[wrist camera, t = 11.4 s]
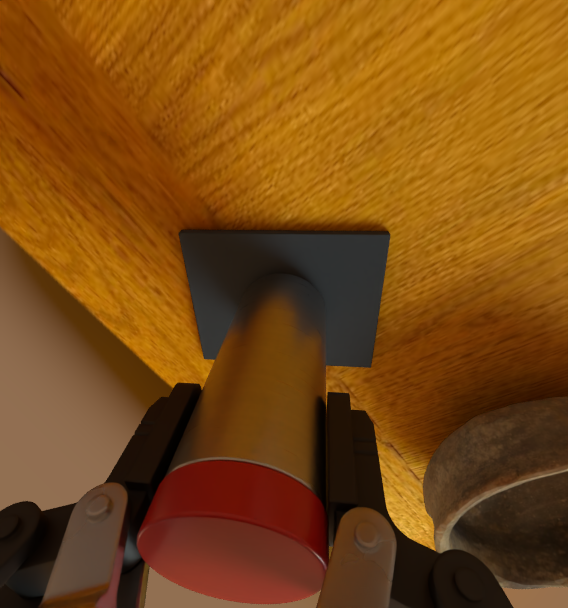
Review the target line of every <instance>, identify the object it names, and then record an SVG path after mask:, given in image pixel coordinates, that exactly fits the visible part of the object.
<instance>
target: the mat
mask: <svg viewBox="0 0 568 608" xmlns="http://www.w3.org/2000/svg"><path fill="white" fill-rule="evenodd" d="M179 238H180V243H181V247H182V252H183V257H184V262H185V267H186V272H187V277H188V282H189V287H190V292H191V297H192V302H193V307H194V312H195V316H196V321H197V326H198V331H199V336H200V341H201V346H202V351H203V356H204V359H213V360H216V357H217V355H218V353H219V350H220V348H221V346H222V343H223V341H224V339H225V336H226V334H227V332H228V330H229V327H230V325H231V323H232V320H233V318H234V316H235V313H236V311H237V309H238V306H239V304H240V302H241V300H242V297H243V295H244V293H245V291H246V290H247V288H248V287H249V286H250V285H251V284H252V283H253V282H255V281H256V280H258V279H259V278H262V277H264V276H267V275H271V274H281V273H282V274H290V275H294V276H297V277H300V278H302V279H304V280H306V281H307V282H309V283H310V284H311V285H313V286H314V287H315V288H316V289H317V290H318V292H319V293H320V295H321V296H322V298H323V301H324V304H325V309H326V365H330V366H349V367H369V368H370V367H371V363H372V357H373V350H374V343H375V336H376V329H377V322H378V316H379V309H380V302H381V295H382V288H383V281H384V275H385V268H386V261H387V254H388V247H389V240H390V233H389V232H388V231H295V230H181V231H180V232H179Z"/></svg>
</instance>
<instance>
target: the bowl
mask: <svg viewBox="0 0 568 608" xmlns="http://www.w3.org/2000/svg"><path fill="white" fill-rule="evenodd" d="M423 494H424V503H425V507H426V511H427V513H428V514H429V516H430V517H431V518H432V519H433V523H434V541H435V548H436V552H438V553H440V554H441V553H442V552H444V551H446V550H450V549H458V550H462V551H466V552H468V553H470V554H472V555H474V556H475V557H477V558H478V559H479V560H481V561H482V562H483V563H484V564H485V565H486V566H487V567H488V568H489V569H490V571H491V572H492V573H493V575H494V576H495V578H496V579H497V581H498V582H499V584H500V586H501V587H505V588H512V589H534V588H544V587H568V396H566V397H551V398H546V399H541V400H534V401H528V402H521V403H516V404H512V405H509V406H506V407H503V408H499V409H496V410H492V411H489V412H485V413H483V414H481V415H478V416H476V417H473V418H472V419H470V420H469V421H468V422H467V423H465V424H464V425H463V426H461V427H460V428H458V429H457V430H455V431H454V432H453V433H452V434H450V435H449V436H448V437H447V438H446V439H445V440H444V441H443V442H442V443H441V444H440V446H439V447H438V448H437V450H436V451H435V452H434V454H433V456H432V458H431V460H430V462H429V464H428V466H427V469H426V472H425V475H424V481H423Z"/></svg>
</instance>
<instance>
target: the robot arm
mask: <svg viewBox="0 0 568 608" xmlns="http://www.w3.org/2000/svg"><path fill="white" fill-rule="evenodd" d="M201 392H202V390H201V386H200V384H194V383H177V384H176V385H175V387H174V388H173V390H172V392H171V394H170V396H169V397H161V398H160V399H158V400H157V401H156V402H155V403H154V404H153V405H152V406H151V407H150V408H149V409H148V411H147V412H146V414H145V416H144V418H143V419H142V421H141V424H139V426H138V428H137V430H136V431H135V435H133V436H132V438H131V440H130V441H129V443H128V445H127V446H126V448H125V450H124V452H123V453H122V455H121V457H120V458H119V460H118V462H117V464H116V465H115V467H114V469H113V470H112V472H111V474H110V475H109V477H108V479H107V480H106V482H105V483H104V484H101V485H99V486H96V487H95V488H93V489H91V490H90V491H89V492H87V493H86V494H85V495H84V496H83V497H82V498H81V499H80V500H79V501H78V502H77V503H74V504H70V505H66V506H62V507H58V508H53V509H50V510H45V511H41V509H40V508H39V507H38V506H37V505H36V504H35V503H33V502H28V501H25V502H19V503H15V504H13V505H10V506H9V507H6V508H5V509H3V510H2V511H0V608H144V606H145V598H146V590H147V582H148V574H149V567H150V566H149V565H148V564H147V563H146V562H145V561H144V560H143V558H142V557H141V556H140V554H139V552H138V549H137V544H136V542H137V534H138V532H139V529H140V527H141V525H142V523H143V520H144V518H145V516H146V514H147V511H148V509H149V507H150V504H151V502H152V500H153V498H154V495H155V493H156V491H157V488H158V486H159V484H160V483H161V482H162V480H163V479H164V477H165V475H166V473H167V470H168V468H169V466H170V463H171V461H172V459H173V457H174V454H175V452H176V450H177V447H178V445H179V443H180V440H181V438H182V436H183V433H184V431H185V429H186V426H187V424H188V422H189V420H190V417H191V415H192V413H193V410H194V408H195V406H196V403H197V401H198V399H199V396H200V394H201ZM326 500H327V515H328V523H329V546H332V547H333V548H332V552H331V556H330V559H329V563H328V566H327V570H326V574H325V577H324V581H323V585H322V588H321V592H320V596H319V599H318V603H317V607H316V608H513V606H512V605H511V603H510V601H509V599H508V598H507V596H506V595H505V593H504V591H503V589H502V588H501V586H500V584H499V582H498V581H497V579H496V578H495V576H494V575H493V573H492V572H491V571H490V569H489V568H488V567H487V566H486V565H485V564H484V563H483V562H482V561H481V560H479V559H478V558H477V557H475V556H474V555H472V554H470V553H468V552H466V551H462V550H458V549H450V550H446V551H444V552H442V553H441V554H440V553H438V552H436V551H434V550H432V549H430V548H428V547H426V546H423V545H421V544H419V543H417V542H415V541H413V540H411V539H410V538H408V537H407V536H405V535H404V534H403V533H402V532H401V531H400V530H399V529H398V528H397V527H396V526H395V524H394V523H393V521H392V520H391V518H390V516H389V514H388V511H387V508H386V503H385V497H384V490H383V483H382V477H381V470H380V464H379V457H378V450H377V444H376V437H375V430H374V424H373V423H372V421H371V419H370V418H369V416H368V415H367V413H366V411H362V410H351V406H350V395H349V393H335V392H328V395H327V412H326Z"/></svg>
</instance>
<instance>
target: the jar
mask: <svg viewBox="0 0 568 608" xmlns="http://www.w3.org/2000/svg"><path fill="white" fill-rule="evenodd" d="M136 544H137V549H138V552H139V554H140V556H141V557H142V558H143V560H144V561H145V562H146V563H147V564H148V565H149V566H150V567H151V568H152V569H154V570H155V571H156V572H157V573H159V574H160V575H162V576H163V577H165V578H167V579H168V580H170V581H172V582H174V583H176V584H178V585H180V586H182V587H184V588H187V589H189V590H192V591H195V592H198V593H201V594H204V595H207V596H211V597H215V598H219V599H223V600H228V601H234V602H242V603H251V604H280V603H287V602H293V601H298V600H301V599H305V598H307V597H310V596H312V595H314V594H315V593H317V592H319V591H320V590H321V588H322V585H323V581H324V577H325V574H326V570H327V566H328V563H329V523H328V515H327V500H326V309H325V304H324V301H323V298H322V296H321V295H320V293H319V292H318V290H317V289H316V288H315V287H314V286H313V285H311V284H310V283H309V282H307V281H306V280H304V279H302V278H300V277H297V276H294V275H290V274H282V273H281V274H271V275H267V276H264V277H262V278H259V279H258V280H256V281H255V282H253V283H252V284H251V285H250V286H249V287H248V288H247V290H246V291H245V293H244V295H243V297H242V300H241V302H240V304H239V306H238V309H237V311H236V313H235V316H234V318H233V320H232V323H231V325H230V327H229V330H228V332H227V334H226V336H225V339H224V341H223V343H222V346H221V348H220V350H219V353H218V355H217V357H216V360H215V362H214V364H213V366H212V369H211V371H210V373H209V376H208V378H207V380H206V383H205V385H204V387H203V390H202V392H201V394H200V396H199V399H198V401H197V403H196V406H195V408H194V410H193V413H192V415H191V417H190V420H189V422H188V424H187V426H186V429H185V431H184V433H183V436H182V438H181V440H180V443H179V445H178V447H177V450H176V452H175V454H174V457H173V459H172V461H171V463H170V466H169V468H168V470H167V473H166V475H165V477H164V479H163V480H162V482H161V483H160V484H159V486H158V488H157V491H156V493H155V495H154V498H153V500H152V502H151V504H150V507H149V509H148V511H147V514H146V516H145V518H144V520H143V523H142V525H141V527H140V529H139V532H138V534H137V542H136Z"/></svg>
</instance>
